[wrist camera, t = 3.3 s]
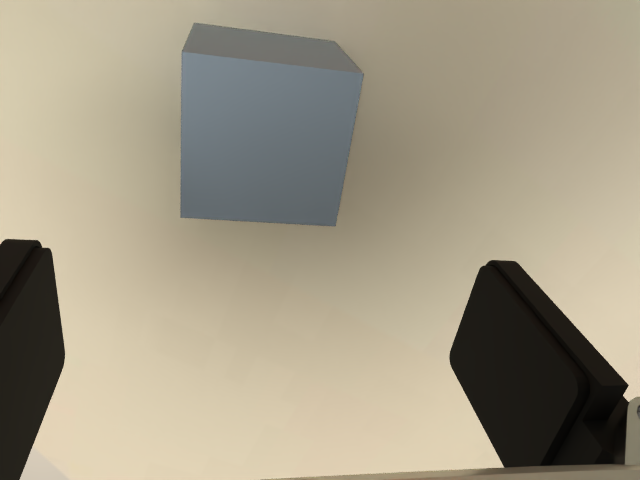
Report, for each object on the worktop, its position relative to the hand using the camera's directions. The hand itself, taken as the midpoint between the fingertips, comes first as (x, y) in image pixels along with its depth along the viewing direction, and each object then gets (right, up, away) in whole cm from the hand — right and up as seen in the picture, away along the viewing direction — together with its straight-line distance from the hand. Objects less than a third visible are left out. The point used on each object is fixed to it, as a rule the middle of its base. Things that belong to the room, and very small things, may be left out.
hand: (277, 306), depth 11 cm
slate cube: (-2, +8, +12) cm, 14 cm away
